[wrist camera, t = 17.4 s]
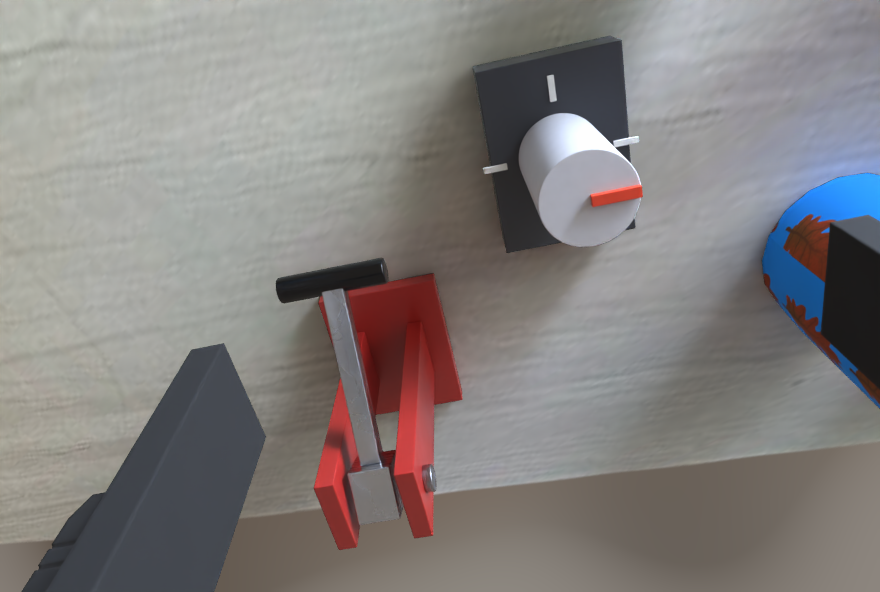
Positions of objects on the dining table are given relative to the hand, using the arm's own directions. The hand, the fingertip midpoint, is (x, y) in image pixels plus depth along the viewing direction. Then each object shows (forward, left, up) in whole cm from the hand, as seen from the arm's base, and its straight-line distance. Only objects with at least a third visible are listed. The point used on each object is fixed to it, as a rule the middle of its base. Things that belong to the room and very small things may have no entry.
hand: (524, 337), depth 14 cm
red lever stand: (+15, -8, -27) cm, 32 cm away
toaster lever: (+11, -8, -16) cm, 21 cm away
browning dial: (+3, +5, -24) cm, 25 cm away
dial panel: (+3, +5, -27) cm, 27 cm away
